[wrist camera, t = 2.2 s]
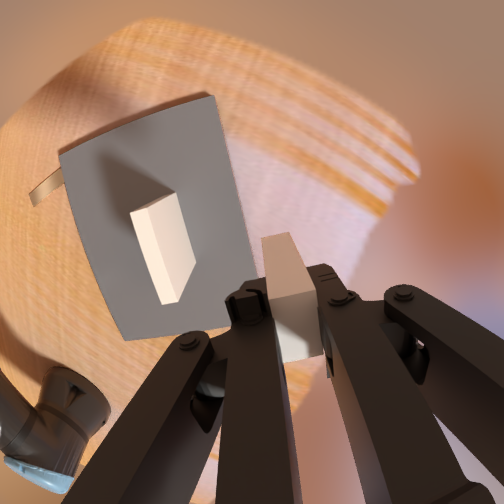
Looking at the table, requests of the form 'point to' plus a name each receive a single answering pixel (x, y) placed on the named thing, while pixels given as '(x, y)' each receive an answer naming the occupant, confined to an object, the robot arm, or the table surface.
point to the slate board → (147, 190)
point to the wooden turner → (47, 187)
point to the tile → (165, 246)
